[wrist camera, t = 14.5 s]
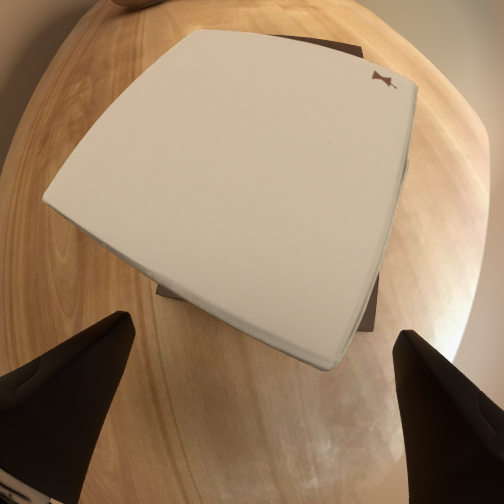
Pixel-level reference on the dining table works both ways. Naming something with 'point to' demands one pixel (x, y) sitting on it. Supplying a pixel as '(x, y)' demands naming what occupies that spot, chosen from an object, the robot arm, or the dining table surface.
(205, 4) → the dining table surface
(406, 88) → the white packaging box
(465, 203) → the dining table surface
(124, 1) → the planter
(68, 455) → the robot arm
